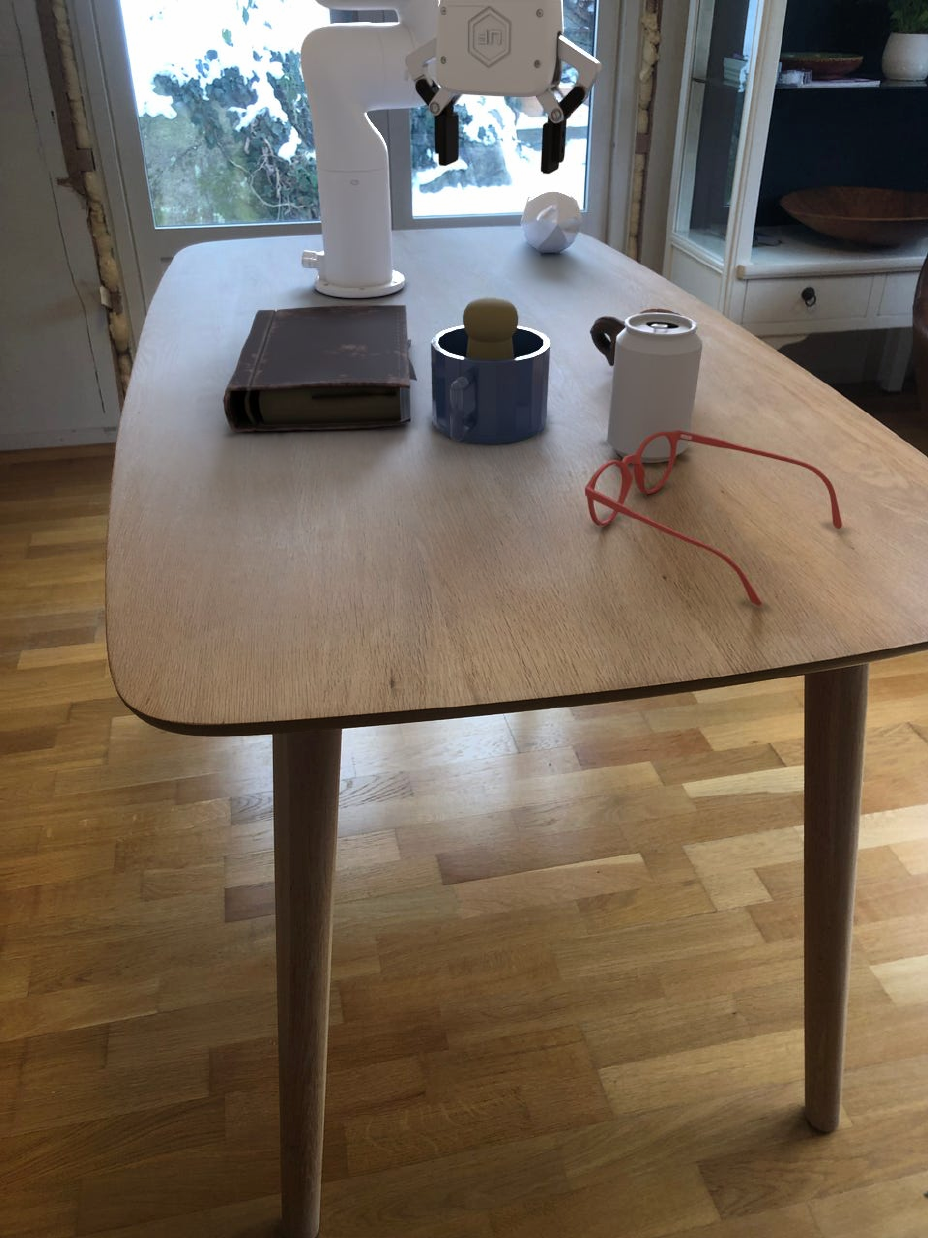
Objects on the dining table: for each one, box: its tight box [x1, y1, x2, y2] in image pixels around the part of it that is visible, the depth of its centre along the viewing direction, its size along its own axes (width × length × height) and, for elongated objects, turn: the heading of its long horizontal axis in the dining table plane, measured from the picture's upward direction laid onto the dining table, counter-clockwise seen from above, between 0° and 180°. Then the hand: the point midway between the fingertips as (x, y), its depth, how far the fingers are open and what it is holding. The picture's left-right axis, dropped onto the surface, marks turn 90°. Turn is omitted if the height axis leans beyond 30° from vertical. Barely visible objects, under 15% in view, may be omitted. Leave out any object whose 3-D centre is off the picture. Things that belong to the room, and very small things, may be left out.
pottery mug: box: [589, 308, 697, 367], centre depth 103 cm, size 12×10×8 cm
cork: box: [462, 297, 519, 360], centre depth 91 cm, size 6×6×11 cm
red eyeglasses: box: [584, 430, 843, 607], centre depth 74 cm, size 17×16×5 cm
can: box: [606, 313, 703, 464], centre depth 86 cm, size 8×8×12 cm
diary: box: [222, 304, 418, 433], centre depth 101 cm, size 19×25×5 cm
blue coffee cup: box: [430, 325, 551, 445], centre depth 91 cm, size 15×11×8 cm
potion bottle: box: [519, 188, 583, 254], centre depth 151 cm, size 9×10×15 cm
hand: (498, 167), depth 85 cm, fingers open, 9 cm apart
